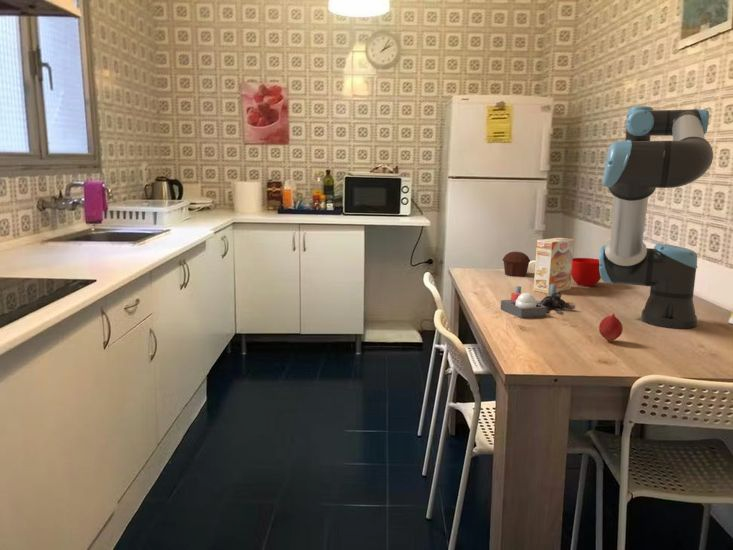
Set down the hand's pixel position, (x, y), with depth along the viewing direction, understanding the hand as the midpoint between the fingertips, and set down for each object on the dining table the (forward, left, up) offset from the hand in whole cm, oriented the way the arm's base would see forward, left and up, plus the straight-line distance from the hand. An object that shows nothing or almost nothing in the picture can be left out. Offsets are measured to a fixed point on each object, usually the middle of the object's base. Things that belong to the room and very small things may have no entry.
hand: (629, 228), depth 195 cm
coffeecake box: (+28, +8, -27) cm, 39 cm away
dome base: (0, +39, -26) cm, 47 cm away
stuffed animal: (+1, +25, -27) cm, 37 cm away
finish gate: (+11, +27, -26) cm, 39 cm away
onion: (-34, +34, -27) cm, 55 cm away
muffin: (+59, +4, -27) cm, 65 cm away
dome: (-2, +39, -26) cm, 47 cm away
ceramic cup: (+32, -13, -27) cm, 44 cm away
